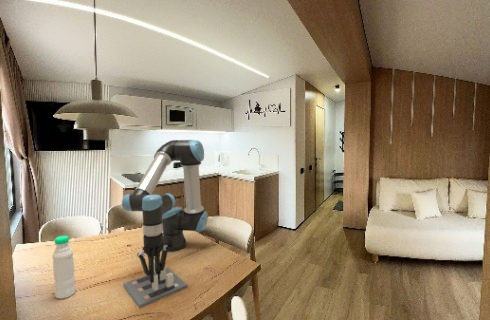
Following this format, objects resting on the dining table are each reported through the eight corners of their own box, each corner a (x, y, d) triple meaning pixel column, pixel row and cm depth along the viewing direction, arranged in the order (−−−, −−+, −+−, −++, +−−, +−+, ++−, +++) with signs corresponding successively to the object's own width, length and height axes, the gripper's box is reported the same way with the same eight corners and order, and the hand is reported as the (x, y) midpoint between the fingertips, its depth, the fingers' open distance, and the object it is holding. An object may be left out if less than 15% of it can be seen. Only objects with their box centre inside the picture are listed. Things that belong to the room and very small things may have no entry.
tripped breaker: (165, 287, 111) (164, 274, 111) (171, 284, 113) (171, 271, 113) (167, 289, 110) (167, 276, 109) (174, 287, 112) (173, 274, 111)
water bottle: (72, 287, 114) (68, 232, 112) (78, 293, 110) (74, 236, 107) (53, 295, 109) (48, 237, 106) (58, 301, 104) (54, 242, 102)
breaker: (158, 280, 117) (157, 268, 116) (164, 278, 119) (164, 265, 118) (160, 282, 115) (160, 270, 114) (167, 280, 117) (166, 267, 116)
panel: (123, 286, 115) (123, 283, 115) (167, 269, 129) (167, 267, 129) (139, 308, 100) (139, 305, 100) (187, 287, 114) (187, 284, 114)
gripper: (140, 240, 98) (142, 299, 100) (172, 231, 106) (173, 286, 108) (133, 234, 103) (135, 291, 105) (164, 227, 112) (165, 279, 114)
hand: (155, 288), depth 107 cm, fingers closed
